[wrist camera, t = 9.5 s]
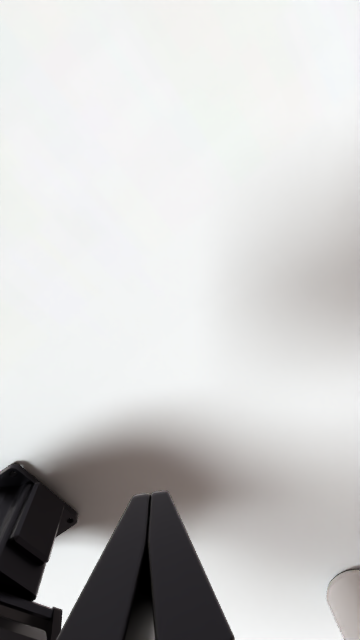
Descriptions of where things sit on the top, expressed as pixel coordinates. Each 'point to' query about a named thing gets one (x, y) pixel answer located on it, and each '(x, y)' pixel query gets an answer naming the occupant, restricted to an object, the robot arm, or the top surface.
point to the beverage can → (346, 603)
